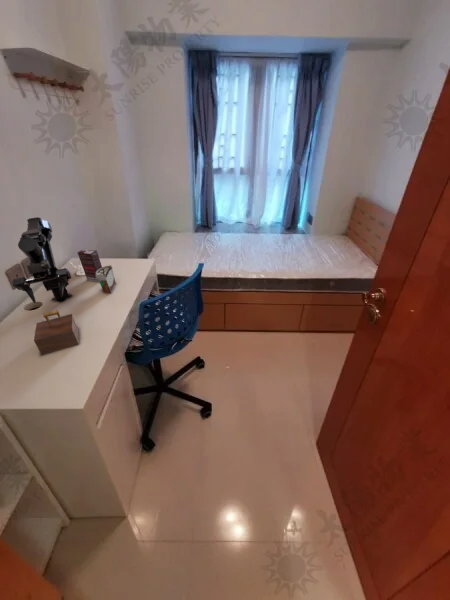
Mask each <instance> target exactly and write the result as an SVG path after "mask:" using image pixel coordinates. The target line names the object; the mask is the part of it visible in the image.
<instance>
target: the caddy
mask: <svg viewBox="0 0 450 600" xmlns="http://www.w3.org/2000/svg"><path fill="white" fill-rule="evenodd" d="M34 344H35V345H36V348H37V349H38V351H39V353H40V355H41V356H44V355H46V354H50V353H54V352H57V351H61V350H63V349H66V348H71V347H74V346H77V345H79V344H80V342H79V328H78V326H77V323H76V321H75V319H74V317H73V331H71V332H68V333H64V334H61V335H57V336H54V337H50V338H46V339H43V340H39V341H36V342H34Z"/></svg>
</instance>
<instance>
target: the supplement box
mask: <svg viewBox="0 0 450 600" xmlns="http://www.w3.org/2000/svg"><path fill="white" fill-rule="evenodd" d="M76 253H77V256H79V257H78V260H79V259H80V261H81V264H82V267H83V269H84V272H85V275H84V276H85V277H86V280H87V281H91V282H97V283H100V282H99V280H98V279H97V278H96V271H97V270H98V269H100V268H102V267H103V266H102V262H101V260H100V259H101V258H100V256H99V253H98V249H97V250H96V249H86V248H83V249H81V250H79V251H77V252H76Z"/></svg>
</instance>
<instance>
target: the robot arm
mask: <svg viewBox="0 0 450 600" xmlns="http://www.w3.org/2000/svg"><path fill="white" fill-rule="evenodd" d="M26 221H27V229H26V231H23V232H22V233H21V235H20V237H19V241H18V243H17V247H18V249H19V250H20V251H21V252H22V253H23V254H24V255H25V256H26V257H28V260H29V265H26V268H27V271H28V274H29V275H30V276H31V277H32V278H28V279H27V278H26V277H24V276H22V277H16V278H13V279H12V280H11V284H12V287H14V288H15V289H17V290H18V291H22V292H25V293H26V294H27V295H28V297H29V298H30V300H31V301H32V303H34V304H36V302H37V301H36V296H35V294H34V291H33V288H32V287H31V285H33V284H38V283H42V285H43V287H44V289H45V290H46V292H49V291H51V293H52V296H53V297H52V298H51V301H55V302H58V303H63V302H65V301H66V300H68V299H69V298H71V297H72V296H73V294H72V293H69V292H68V289H67V287H68V286H69V285H70V284H69V280H71V279H72V278H73V277H72V274H71V272H70V270H69V269H68V268H66V267H64V268H59V269H58V267H57V265H56V261H55V258H54V253H53V250H52V246H51V240H52V239H53V234H52V233H53V228H52V225H51V224H50V222H49V221H48V220H44V219H42V217H39V216H36V217H30V218H28V219H27V220H26Z"/></svg>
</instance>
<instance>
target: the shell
mask: <svg viewBox="0 0 450 600" xmlns="http://www.w3.org/2000/svg"><path fill="white" fill-rule="evenodd" d="M77 256H78V255H77ZM69 263H70V264H71V266H72V268H73V269H75V270H76V273H75V274H76V276H86V275H85V272H84V269H83V267H82V264H81V261H80V259H79V256H78V263H79V264H78V265H77V263H76V264H73V263H72V262H70V261H69ZM76 265H77V266H76Z"/></svg>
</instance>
